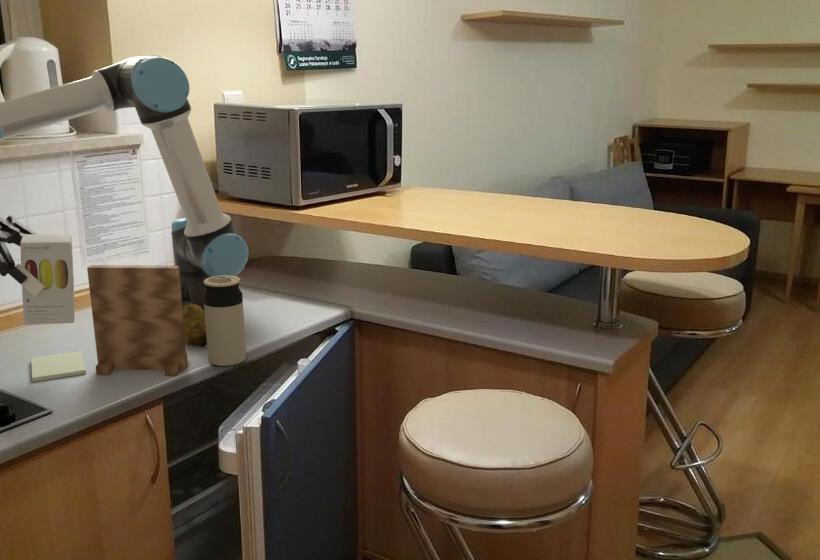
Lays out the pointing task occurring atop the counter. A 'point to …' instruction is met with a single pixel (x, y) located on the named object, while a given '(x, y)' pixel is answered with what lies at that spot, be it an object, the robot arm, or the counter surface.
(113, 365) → the screen
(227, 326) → the travel mug
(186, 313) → the potato
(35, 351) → the counter surface
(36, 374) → the sticky note pad
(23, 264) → the supplement box
